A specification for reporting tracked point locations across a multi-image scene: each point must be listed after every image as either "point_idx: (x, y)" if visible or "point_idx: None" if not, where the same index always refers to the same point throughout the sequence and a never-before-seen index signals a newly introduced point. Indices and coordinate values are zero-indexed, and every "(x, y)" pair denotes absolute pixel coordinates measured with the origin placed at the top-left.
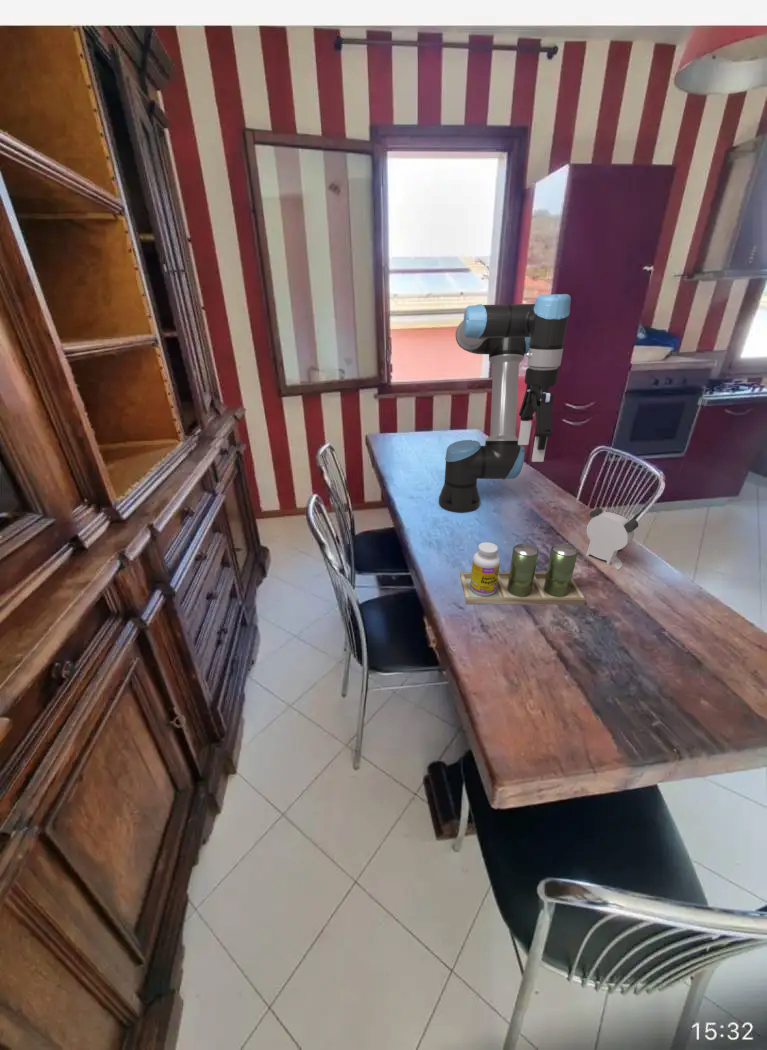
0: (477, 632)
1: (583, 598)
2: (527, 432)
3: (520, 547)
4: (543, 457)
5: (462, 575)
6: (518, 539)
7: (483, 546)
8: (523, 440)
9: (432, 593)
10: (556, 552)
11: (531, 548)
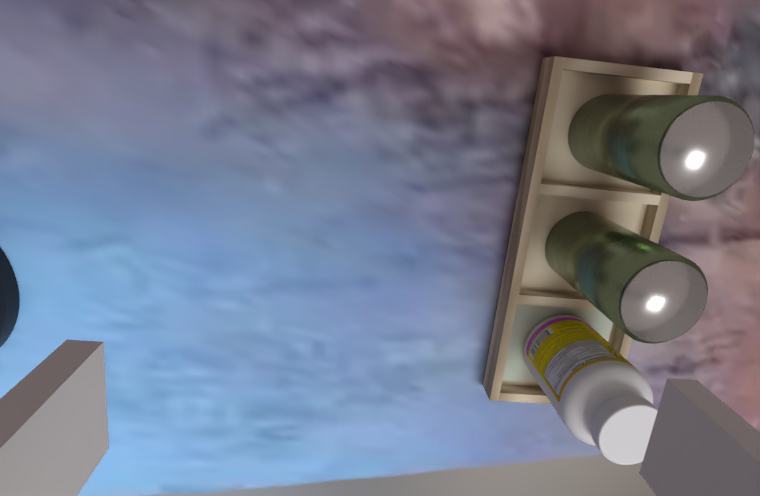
0: None
1: (696, 78)
2: (4, 487)
3: (647, 318)
4: (726, 411)
5: (506, 397)
6: (255, 127)
7: (624, 449)
8: (78, 437)
9: (529, 458)
10: (715, 193)
11: (665, 280)
